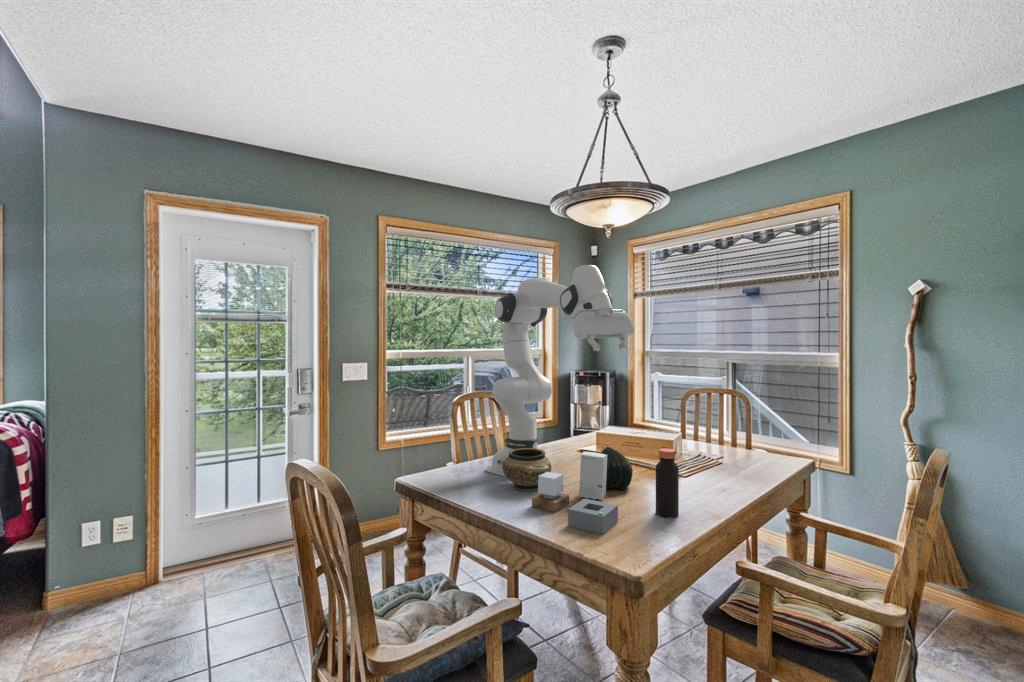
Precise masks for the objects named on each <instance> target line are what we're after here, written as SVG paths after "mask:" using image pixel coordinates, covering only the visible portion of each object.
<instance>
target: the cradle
mask: <svg viewBox="0 0 1024 682" xmlns="http://www.w3.org/2000/svg"><path fill="white" fill-rule="evenodd" d="M568 504H569V505H570V495H569V494H564V493H562V492H561V493H559V494H558V497H557V498H556V499H554V500H553V499H548V498H543V494H541V493H538V494H536V495H535V496H533V497H531V507H532V508H534V507H536V508H535V509H538V508H540V510H543V509H545V510H544V511H548V510H549V512H552V511H553V513H558V512H560V511H562V510H563V509H564V508H566V507H567V506H569V505H568ZM559 510H560V511H559Z"/></svg>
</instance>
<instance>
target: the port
mask: <svg viewBox="0 0 1024 682" xmlns="http://www.w3.org/2000/svg"><path fill="white" fill-rule="evenodd" d="M618 522H619V504H614V503H608V502H605V501H604V502H603V501H600V500H595V499H589V498H582V499H581V500H580V501H578V502H577V503H575V504H573V505H572V506H571V507H569V508H568V509H567V527H570V528H573V529H580V530H583V531H587V532H591V533H595V534H599V535H600V534H601V535H605V533H607V532H609V531H610V530H611V529H612V528H613V527H614V526H615V525H616V524H617V523H618Z"/></svg>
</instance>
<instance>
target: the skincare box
mask: <svg viewBox="0 0 1024 682" xmlns="http://www.w3.org/2000/svg"><path fill="white" fill-rule="evenodd" d="M600 453H601V452H594V451H593V452H592V451H584V452H583V453H581V454H580V469H579V470H580V471H579V475H580V476H579V492H578V494H579V495H578V497H579V498H581V497H585V498H584V499H589V498H593V499H592V500H596V499H599V500H598V501H603V500H604V498H605V497H606V496H607V492H606V491H607V489H606V475H607V454H600ZM605 495H606V496H605Z"/></svg>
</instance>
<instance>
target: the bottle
mask: <svg viewBox="0 0 1024 682" xmlns="http://www.w3.org/2000/svg"><path fill="white" fill-rule="evenodd" d="M676 453H677V452H676V450H675V449H673V448H663V447H662V448H660V449H659V450H658V458H659V461H658V462H657V464H656V465H655V514H656V515H657V516H659V515H660V516H659V517H662V516H663V517H662V518H667V517H673V518H677V517H678V516H679V511H680V510H679V507H680V506H679V500H680V498H679V497H680V496H679V495H680V493H679V490H680V489H679V488H680V487H679V486H680V485H679V482H680V481H679V480H680V479H679V477H680V475H679V473H680V472H679V469H680V468H679V465H677V463H676V461H675V460H676V457H677V456H676ZM676 516H677V517H676Z"/></svg>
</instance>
